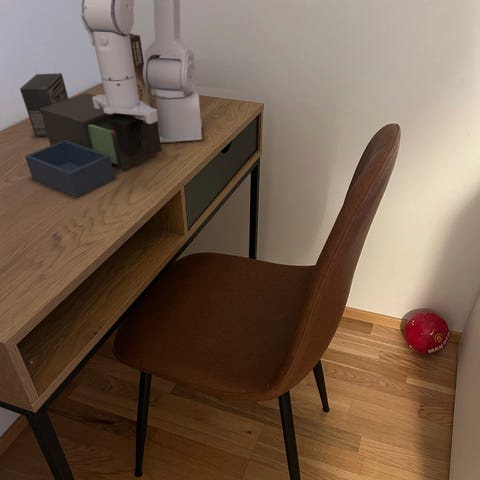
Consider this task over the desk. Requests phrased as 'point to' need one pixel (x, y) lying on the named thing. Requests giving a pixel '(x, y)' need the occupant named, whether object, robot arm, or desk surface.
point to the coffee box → (138, 68)
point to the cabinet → (71, 119)
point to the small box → (42, 97)
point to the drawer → (111, 145)
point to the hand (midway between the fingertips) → (132, 153)
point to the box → (70, 168)
